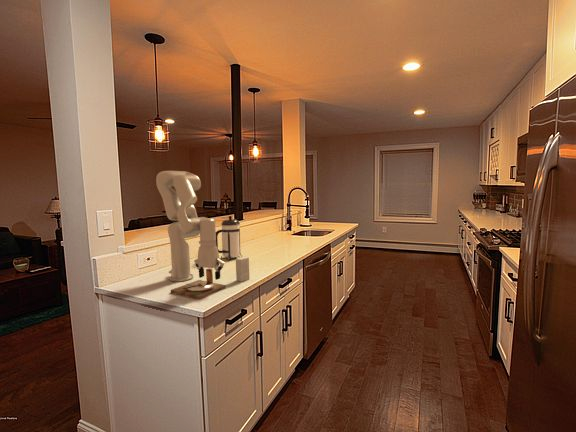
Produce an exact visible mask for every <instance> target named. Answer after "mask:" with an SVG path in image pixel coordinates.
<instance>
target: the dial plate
mask: <svg viewBox="0 0 576 432" xmlns="http://www.w3.org/2000/svg"><path fill="white" fill-rule="evenodd" d="M199 281H203V280H202V279H198V280H194V281H193V282H189V283H186V284H183V285H180V286H177V287H175V288H172V289H170V294H174V295H177V296H183V297H185V298H186V297H187V298H191V299H196V300H202V299H203V298H207V297H208V296H211V295H213V294H216V293H218V292H222V291H223V290H225V289H227V285H226V284H221V283H216V282H213V283H214V287H213V288H212V289H210V290H206V291H200V292H192V291H188V290H187V289H183V288H186V286H187V285H188V284H190V283H194V282H199Z"/></svg>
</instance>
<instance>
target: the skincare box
mask: <svg viewBox="0 0 576 432" xmlns="http://www.w3.org/2000/svg"><path fill="white" fill-rule="evenodd" d="M240 257H241V256H240ZM240 257H238V258H237V257H236V258H235V275H236V276H235V277H236V281H237V282H241V283H242V282H245V281H248V280H250V259H249V257H247V256H242V257H241V258H240Z"/></svg>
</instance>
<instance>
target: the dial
mask: <svg viewBox="0 0 576 432" xmlns="http://www.w3.org/2000/svg"><path fill="white" fill-rule="evenodd" d="M205 273H206V274H205V275H206V276H205V277H206V280H202V281H199V282H194V281H193V282H194V283H192V282H189V283H190V284H189V283H187V284H188V285H187V286H186V288H183V289H187V290H188V291H192V292H200V291H206V290H210V289H212V288H213V287H214V283H215V282H214V278H213V275H214V273H213V268H206V269H205Z"/></svg>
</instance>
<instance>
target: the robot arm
mask: <svg viewBox="0 0 576 432" xmlns="http://www.w3.org/2000/svg"><path fill="white" fill-rule="evenodd" d="M155 181H156V187H157V190H158V192H159V194H160V196H161V199H162V202H163V206H164V209H165V213H166V217H167V218H168V220H170V221H174V222H172V223H170V224H169V225H168V227H167V234H168V237H169V244H170V256H171V257H170V260H171V269H170V270H169V271H168V274H170V276H169V279H168V280H169V281H171V282H176V283H177V282H178V283H179V282H185V281H190V280H192V279H193V278H194V274H192V273H191V261H190V246H189V244H188V242H187V241H186V239H189V238H190V239H191V238H196V237H198V236H199V241H198V244H199V246H198V251H197V258H195V260H194V261H193V262H194V264H195V267H196V268H197V271H198V279H199V278H200V279H201V278H203V277H205V268H206V269H210V268H211V269H214V270H215V272H214V278H215V280H219V279H221V271H222V269H223V268H224V266H225V261H223V260H221V258H220V253H218V250H219V247H218V248H217V246H216V232H217V231H216V220H215V219H214V218H208V217H205V216H200V217H198V214H197V208H196V207H195V204H196V203H197V201H198V197H197V195H196V191H199V190H200V189H201V187H202V183H201V179H200V177H199V176H198V175H196V174H194V173H193V172H192V173H191V172H189V171H184V170H183V171H182V170H181V171H180V170H162V171H160V172H159V173H157V175H156V179H155ZM172 187H174V188H172Z"/></svg>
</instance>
